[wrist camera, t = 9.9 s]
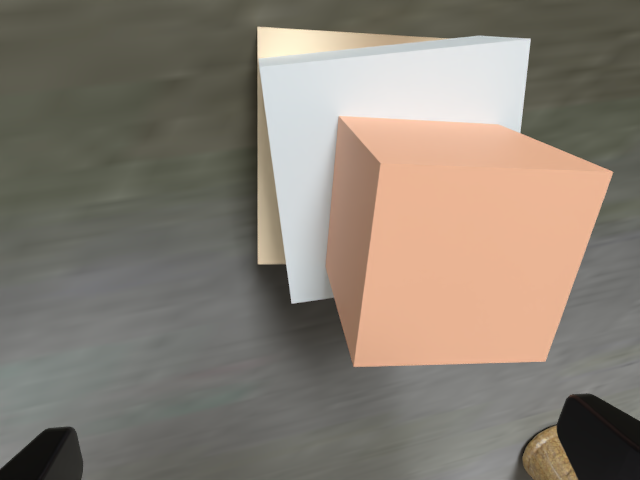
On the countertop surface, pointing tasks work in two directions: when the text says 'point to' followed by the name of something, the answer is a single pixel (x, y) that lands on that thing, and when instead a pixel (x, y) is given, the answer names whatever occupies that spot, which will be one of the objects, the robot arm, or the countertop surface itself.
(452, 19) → the countertop surface
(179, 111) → the countertop surface
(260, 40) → the oak base slab
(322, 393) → the countertop surface
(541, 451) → the sprinkles bottle
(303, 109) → the grey-blue top slab
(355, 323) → the terracotta cube
